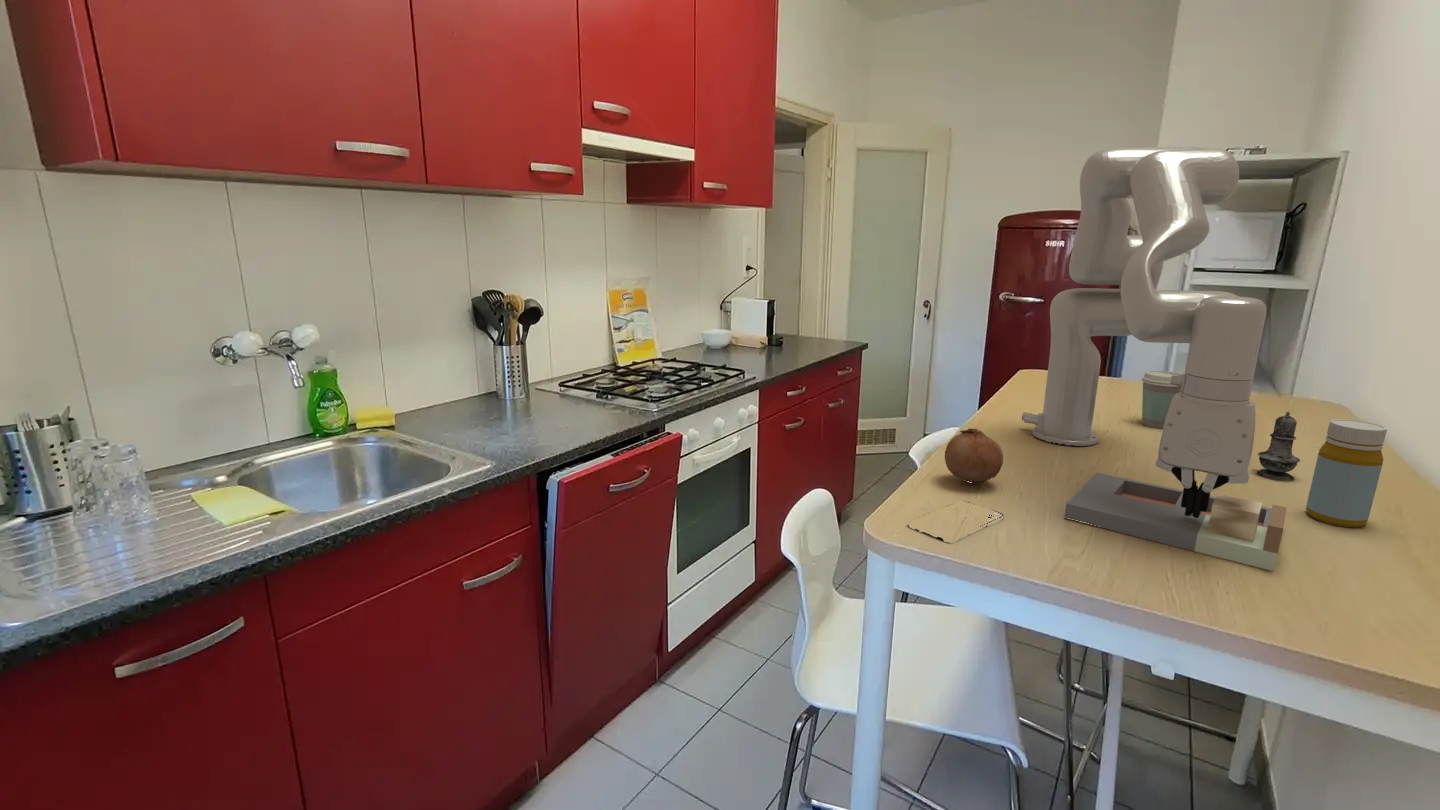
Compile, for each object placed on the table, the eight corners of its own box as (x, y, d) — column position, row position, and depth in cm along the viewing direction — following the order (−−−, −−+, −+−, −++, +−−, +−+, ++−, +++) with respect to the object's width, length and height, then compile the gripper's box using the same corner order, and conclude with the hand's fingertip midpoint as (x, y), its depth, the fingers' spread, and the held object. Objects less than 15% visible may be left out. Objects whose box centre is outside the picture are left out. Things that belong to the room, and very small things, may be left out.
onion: (933, 484, 116) (937, 429, 114) (956, 470, 123) (960, 418, 120) (987, 498, 110) (993, 440, 107) (1008, 482, 117) (1014, 428, 114)
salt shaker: (1303, 482, 116) (1318, 416, 113) (1265, 480, 117) (1279, 414, 114) (1283, 471, 122) (1297, 407, 119) (1247, 469, 123) (1259, 406, 120)
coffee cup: (1188, 430, 147) (1197, 377, 144) (1149, 430, 147) (1158, 377, 144) (1163, 420, 155) (1172, 370, 152) (1127, 420, 155) (1134, 370, 152)
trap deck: (1064, 518, 102) (1069, 482, 100) (1094, 486, 115) (1099, 453, 113) (1273, 571, 86) (1283, 528, 84) (1281, 526, 99) (1289, 488, 97)
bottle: (1372, 532, 96) (1398, 434, 93) (1309, 522, 100) (1331, 426, 96) (1359, 515, 102) (1383, 422, 98) (1301, 506, 106) (1321, 416, 102)
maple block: (1207, 531, 91) (1212, 504, 90) (1212, 519, 95) (1217, 493, 94) (1253, 541, 88) (1259, 514, 87) (1256, 529, 92) (1262, 503, 91)
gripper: (1146, 385, 92) (1126, 508, 97) (1285, 402, 82) (1257, 538, 87) (1156, 377, 98) (1138, 493, 102) (1288, 392, 88) (1261, 520, 92)
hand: (1192, 513), depth 94 cm, fingers closed
